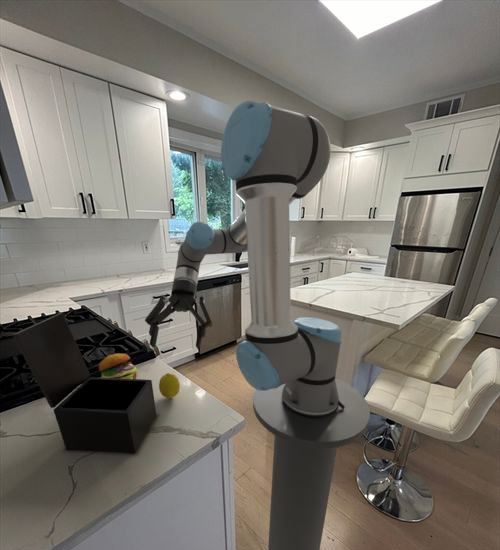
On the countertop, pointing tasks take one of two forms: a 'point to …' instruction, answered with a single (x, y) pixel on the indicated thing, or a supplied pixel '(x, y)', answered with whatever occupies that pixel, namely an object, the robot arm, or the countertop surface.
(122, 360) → the cheeseburger
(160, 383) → the lemon
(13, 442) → the countertop surface
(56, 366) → the box lid
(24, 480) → the countertop surface
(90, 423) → the black open box
